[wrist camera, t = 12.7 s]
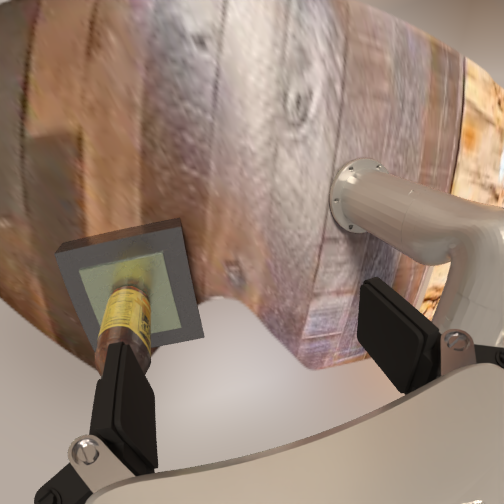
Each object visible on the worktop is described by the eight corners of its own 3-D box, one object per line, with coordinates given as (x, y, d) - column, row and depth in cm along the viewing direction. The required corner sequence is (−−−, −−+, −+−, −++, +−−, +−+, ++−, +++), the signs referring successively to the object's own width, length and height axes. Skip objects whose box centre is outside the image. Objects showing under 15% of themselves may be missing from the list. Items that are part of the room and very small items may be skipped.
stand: (179, 217, 41) (181, 227, 37) (201, 322, 49) (204, 338, 45) (62, 243, 38) (53, 254, 34) (100, 340, 45) (96, 357, 41)
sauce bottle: (148, 324, 41) (150, 439, 24) (106, 316, 39) (87, 430, 22) (155, 285, 40) (156, 399, 22) (110, 276, 37) (83, 388, 20)
